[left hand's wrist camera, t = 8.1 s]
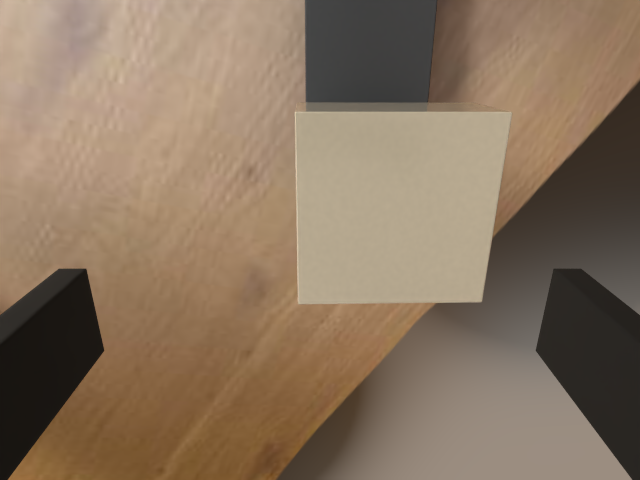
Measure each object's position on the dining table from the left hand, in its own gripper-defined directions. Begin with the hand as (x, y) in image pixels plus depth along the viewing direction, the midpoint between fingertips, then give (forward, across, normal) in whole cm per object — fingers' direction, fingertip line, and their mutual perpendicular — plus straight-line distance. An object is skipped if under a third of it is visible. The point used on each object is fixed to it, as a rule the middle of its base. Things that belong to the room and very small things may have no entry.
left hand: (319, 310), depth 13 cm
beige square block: (+15, -4, 0) cm, 15 cm away
